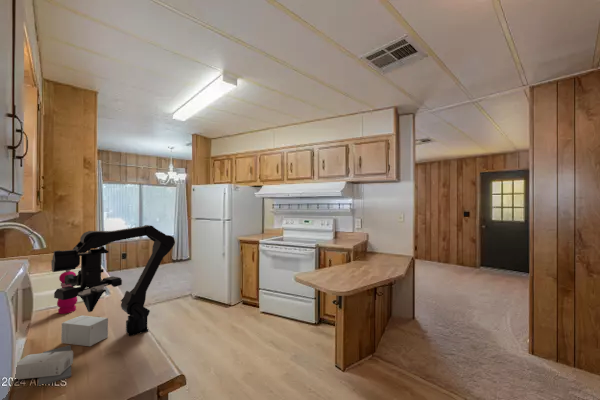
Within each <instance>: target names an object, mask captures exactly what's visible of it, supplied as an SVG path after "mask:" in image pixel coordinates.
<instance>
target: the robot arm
mask: <svg viewBox="0 0 600 400" xmlns="http://www.w3.org/2000/svg"><path fill="white" fill-rule="evenodd" d="M141 237H147V238H148V239H150V240H151V241H152V242H153V245H152V250H151V254H150V257H149V259H148V260H147V263H146V264H145V266H144V268H143V270H142V272H141V273H140V275H139V278H138V279H137V282H136V284H135V286H134V287H133V288H132V289H131V290H130V291H128V290H126V291H125V292H124V295H123V297H122V299H121V300H120V302H121V304H120V307H121V309H122V310H123V312H125V313H126V314H127V319H126V320H125V332H126V334H128V336H129V337H132V336H136V335H139V334H142V333H146V332H149V328H148V317H149V315H150V312H151V311H150V309H148V308H147V307H146V306H145V302H146V297H147V291H148V288H149V287H150V285H151V283H152V281H153V279H154V277H155V275H156V273H157V271H158V269H159V266H160V265H161V263H162V261H163V260H164V259H163V258H165V257H166V256H167V255H168V254H169V253H170V252H171V251H172V249H173V247H174V246H175V244H176V241H175V238H174V237H173V236H171V235H168V234H165V233H164V232H162V231H160V230H159V229H157V228H156V227H154V226H153V225H150V224H145V225H141V226H135V227H129V228H123V229H116V230H88V231H85V232H84V233H82V235H81V236H80V238H79V240H80V241H79V242H78V243H77V244H76V245H75V246H74V247H73V248H72V249H67V250H65V249H64V250H53V255H52V259H51V263H50V264H51V266H50V267H51V271H52V273H57V272H66V270H70V271H73V270H76V268H78V267H80V269H79V270H78V271H77V274H76V276H74V275H73V274H70V275H66V276H65V284H66V285H69V284H71V286H72V287H70V286H68V287H64V288H62V287H60V288H56V290H55V291H54V294H53V298H54V299H56V300H58V299H61V300H67V299H71V298H75V297H76V296H77V297H79V298H81V300H82V303H84V305H85V308H86V310H87V312H88V313H92V312H93V311H94V309H95V308H96V306H97V304H98V302H99V301H100V299H101V298H102V296H103V294H104V293H106V292H107V289H104V287H107V286H112V287H113V288H115V287H120V286H122V285H123V280H122V278H121V277H119V276H113V275H112V276H109V277H104V278H102V273H104V272H105V271H104V270H105V269H103V268H102V258H103V257H102V254H108V253H110V251H109V250H107V249H106V248H105V246H106V245H109V244H111V243H114V242H119V241H123V240H129V239H134V238H141ZM76 286H77V287H76ZM147 328H148V329H147Z"/></svg>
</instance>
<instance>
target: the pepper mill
mask: <svg viewBox="0 0 600 400" xmlns="http://www.w3.org/2000/svg"><path fill="white" fill-rule="evenodd" d="M70 274H73V275H74V276H77V274H76V272H75V271H73V270H66V271H63V272H62V273H61V274H60V275H59V277H58V279H59V281H60V287H61V288H64V287H68V286H70V287H72V286H71V284H69V285H66V284H65V276H66V275H70ZM77 303H78V296H76V297H75V298H71V299H67V300H61V299H57V302H56V306H57V307H58V310H57V311H58V312H57V313H58V314H60V315H65V314H70V313H73V312H75V311H76V310H77V306H76V304H77Z"/></svg>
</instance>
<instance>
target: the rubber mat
mask: <svg viewBox="0 0 600 400" xmlns="http://www.w3.org/2000/svg"><path fill="white" fill-rule="evenodd" d="M61 351H72V344H68V345H66V346H62V347H61V346H60V347H58V348H53V349H49V350H45V351H43V352H42V353H51V352H61ZM68 378H72V365H70V366H69V367H68V368H67V369H66V370H65V371H64V372H63V373H62V374H61V375H57V376H47V377H38V380H37V381H38V382H37V387H38V386H39V385H42V384H46V385H49V384H51V383H52V384H53V383H55V382H59V381H63V380H65V379H68Z"/></svg>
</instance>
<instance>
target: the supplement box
mask: <svg viewBox="0 0 600 400" xmlns="http://www.w3.org/2000/svg"><path fill="white" fill-rule="evenodd" d="M108 336H109V318H108V317H101V316H91V315H90V316H89V315H79V316H76V317H74V318H71V319H68V320H66V321H62V322H61V337H60V339H61V341H60V342H61V344H68V345H74V346H75V345H76V346H84V347H92V346H94V345H95V344H97V343H99V342H101V341H104V340H106V339H107V338H108Z"/></svg>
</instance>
